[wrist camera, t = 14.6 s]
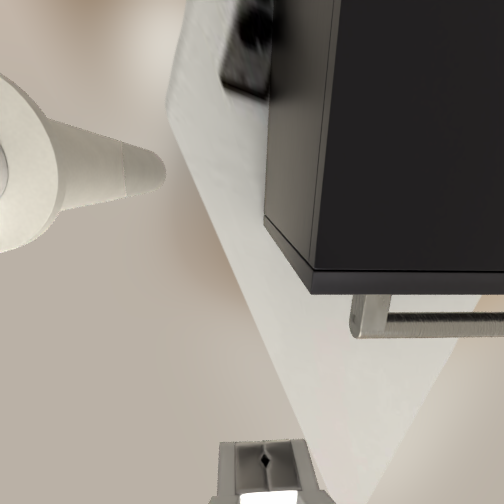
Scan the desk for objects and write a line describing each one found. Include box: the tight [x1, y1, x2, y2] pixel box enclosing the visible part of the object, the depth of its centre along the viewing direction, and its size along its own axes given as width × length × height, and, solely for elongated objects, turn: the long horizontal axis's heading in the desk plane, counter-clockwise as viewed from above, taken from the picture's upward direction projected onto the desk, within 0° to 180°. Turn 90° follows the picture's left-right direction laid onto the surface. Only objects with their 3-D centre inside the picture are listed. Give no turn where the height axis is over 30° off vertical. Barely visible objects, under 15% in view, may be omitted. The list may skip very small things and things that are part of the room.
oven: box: [264, 0, 504, 271], centre depth 26 cm, size 32×40×26 cm
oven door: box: [264, 215, 504, 339], centre depth 32 cm, size 7×40×26 cm, turn 88°
